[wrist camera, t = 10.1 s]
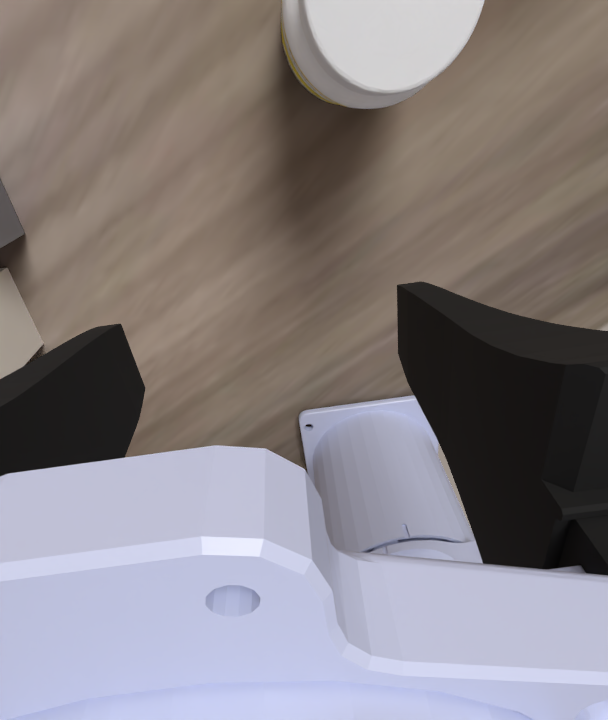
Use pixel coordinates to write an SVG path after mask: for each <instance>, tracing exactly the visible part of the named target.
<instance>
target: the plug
mask: <svg viewBox="0 0 608 720" xmlns="http://www.w3.org/2000/svg"><path fill="white" fill-rule="evenodd" d="M43 344H44V343H43V341H42V339H41V337H40V335H39V333H38V331H37V329H36V326H35V324H34V322H33V320H32V318H31V316H30V314H29V312H28V310H27V308H26V306H25V303H24V301H23V299H22V297H21V295H20V293H19V291H18V289H17V287H16V285H15V283H14V280H13V278H12V276H11V274H10V272H9V270H8V268H0V379H1V378H3V377H5V376H7V375H9V374H10V373H12V372H14V371H16V370H18V369H20V368H21V367H23V366H24V365H25V364H26V363H27V362H28V361H29V360H30V358H31V357H32V356H33V355H34V354H35V353H36V352H37V351H38V349H39V348H40V347H41V346H42V345H43Z"/></svg>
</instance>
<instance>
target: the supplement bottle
mask: <svg viewBox="0 0 608 720" xmlns="http://www.w3.org/2000/svg"><path fill="white" fill-rule="evenodd" d="M484 1H485V0H282V6H281V38H282V44H283V49H284V53H285V57H286V59H287V62H288V64H289V67H290V69H291V71H292V73H293V74H294V76H295V77H296V79H297V80H298V81H299V83H300V84H301V85H302V86H303V87H304V88H305V89H306V90H307V91H308V92H309V93H311V94H312V95H313V96H315V97H317V98H318V99H320V100H323V101H325V102H328V103H331V104H337V105H341V106H345V107H350V108H360V109H375V108H384V107H388V106H392V105H395V104H397V103H400V102H402V101H404V100H406V99H408V98H410V97H411V96H413V95H414V94H416V93H417V92H418V91H420V90H421V89H422V88H423V87H424V86H425V85H426V84H427V83H428V82H430V81H431V80H432V79H434V78H435V77H437V76H438V75H439V74H440V73H442V72H443V71H444V70H445V69H446V68H447V67H448V66H449V65H450V64H451V63H452V62H453V61H454V60H455V58H456V57H457V56H458V55H459V53H460V52H461V51H462V49H463V48H464V46H465V45H466V43H467V41H468V40H469V38H470V36H471V34H472V32H473V30H474V28H475V26H476V24H477V22H478V19H479V16H480V13H481V10H482V7H483V4H484Z"/></svg>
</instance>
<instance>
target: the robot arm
mask: <svg viewBox="0 0 608 720" xmlns="http://www.w3.org/2000/svg"><path fill="white" fill-rule="evenodd" d="M397 307H398V354H399V357H400V360H401V364H402V367H403V370H404V373H405V376H406V378H407V381H408V384H409V386H410V388H411V390H412V392H413V394H414V395H413V396H406V397H399V398H391V399H384V400H377V401H369V402H362V403H355V404H347V405H340V406H333V407H325V408H318V409H311V410H305V411H303V412H301V413H300V415H299V424H300V430H301V436H302V442H303V448H304V454H305V460H306V466H307V472H308V474H307V472H306V471H305V469H304V468H302V467H300V466H298V465H296V464H294V463H292V462H290V461H288V460H286V459H285V458H283V457H281V456H279V455H277V454H275V453H273V452H271V451H269V450H267V449H264V448H248V447H232V446H217V445H215V446H208V447H200V448H193V449H186V450H178V451H171V452H164V453H156V454H149V455H141V456H134V457H127V458H124V457H125V455H126V452H127V450H128V447H129V444H130V442H131V439H132V437H133V434H134V431H135V429H136V426H137V423H138V420H139V417H140V413H141V408H142V403H143V398H144V392H145V386H144V384H143V381H142V378H141V376H140V373H139V370H138V368H137V365H136V362H135V360H134V357H133V355H132V352H131V349H130V347H129V344H128V341H127V339H126V336H125V333H124V331H123V328H122V326H121V324H114V325H107V326H100V327H96V328H93V329H90V330H88V331H86V332H84V333H82V334H80V335H78V336H76V337H74V338H72V339H71V340H69V341H67V342H65V343H63V344H62V345H60V346H58V347H57V348H55V349H53V350H51V351H50V352H48V353H46V354H45V355H43V356H41V357H39V358H38V359H36V360H34V361H32V362H31V363H29V364H27V365H25V366H23V367H21V368H20V369H18V370H16V371H14V372H12V373H10V374H9V375H7V376H5V377H3V378H1V379H0V720H608V331H600V330H592V329H585V328H579V327H572V326H565V325H559V324H554V323H549V322H544V321H540V320H535V319H531V318H527V317H523V316H519V315H515V314H512V313H508V312H505V311H502V310H499V309H496V308H493V307H489V306H487V305H484V304H481V303H478V302H475V301H473V300H470V299H468V298H465V297H462V296H460V295H457V294H455V293H452V292H450V291H447V290H445V289H442V288H440V287H437V286H435V285H432V284H429V283H425V282H415V283H408V284H401V285H397ZM307 424H311V425H312V426H310V427H306V426H305V425H307ZM438 442H439V444H440V446H441V448H442V450H443V452H444V454H445V457H446V459H447V462H448V465H449V467H450V470H451V473H452V475H453V478H454V481H455V483H456V486H457V488H458V491H459V494H460V497H461V500H462V503H463V505H464V508H465V511H466V514H467V517H468V520H469V522H470V525H471V528H472V531H473V533H472V531H471V528H470V526H469V524H468V522H467V519H466V517H465V515H464V513H463V510H462V508H461V506H460V504H459V502H458V499H457V497H456V495H455V493H454V491H453V488H452V486H451V484H450V482H449V479H448V477H447V475H446V473H445V471H444V468H443V466H442V464H441V462H440V459H439V457H438ZM473 534H474V535H473Z"/></svg>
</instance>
